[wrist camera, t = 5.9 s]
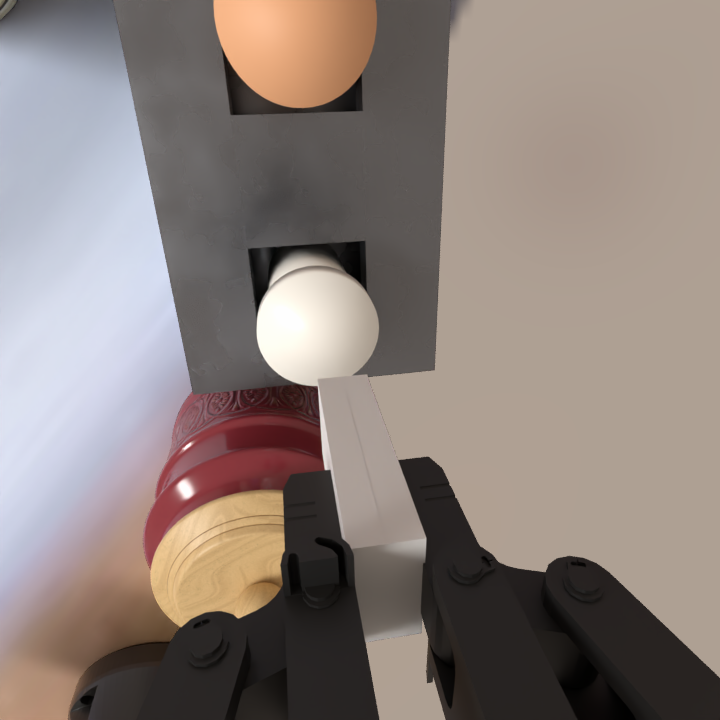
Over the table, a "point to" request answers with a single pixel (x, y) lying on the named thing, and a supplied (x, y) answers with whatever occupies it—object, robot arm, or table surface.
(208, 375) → the block
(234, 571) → the canister
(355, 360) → the white knob
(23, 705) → the table surface
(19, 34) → the table surface
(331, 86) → the tan round-topped peg
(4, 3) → the coffee can
